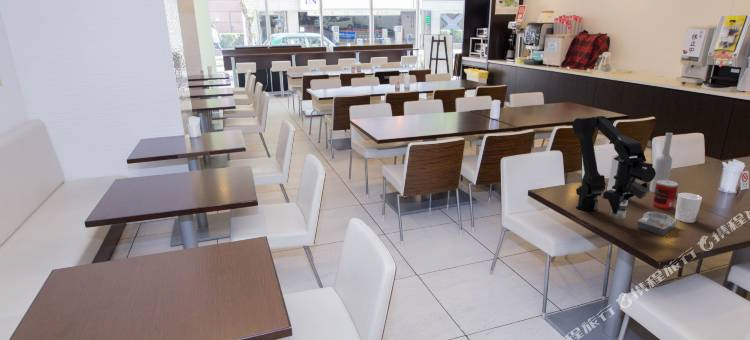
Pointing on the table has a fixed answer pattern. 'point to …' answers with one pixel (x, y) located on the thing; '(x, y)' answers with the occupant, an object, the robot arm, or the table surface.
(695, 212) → the white cup
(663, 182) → the canned food
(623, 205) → the lens
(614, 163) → the milk
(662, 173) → the bottle
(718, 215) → the table surface
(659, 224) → the camera body
